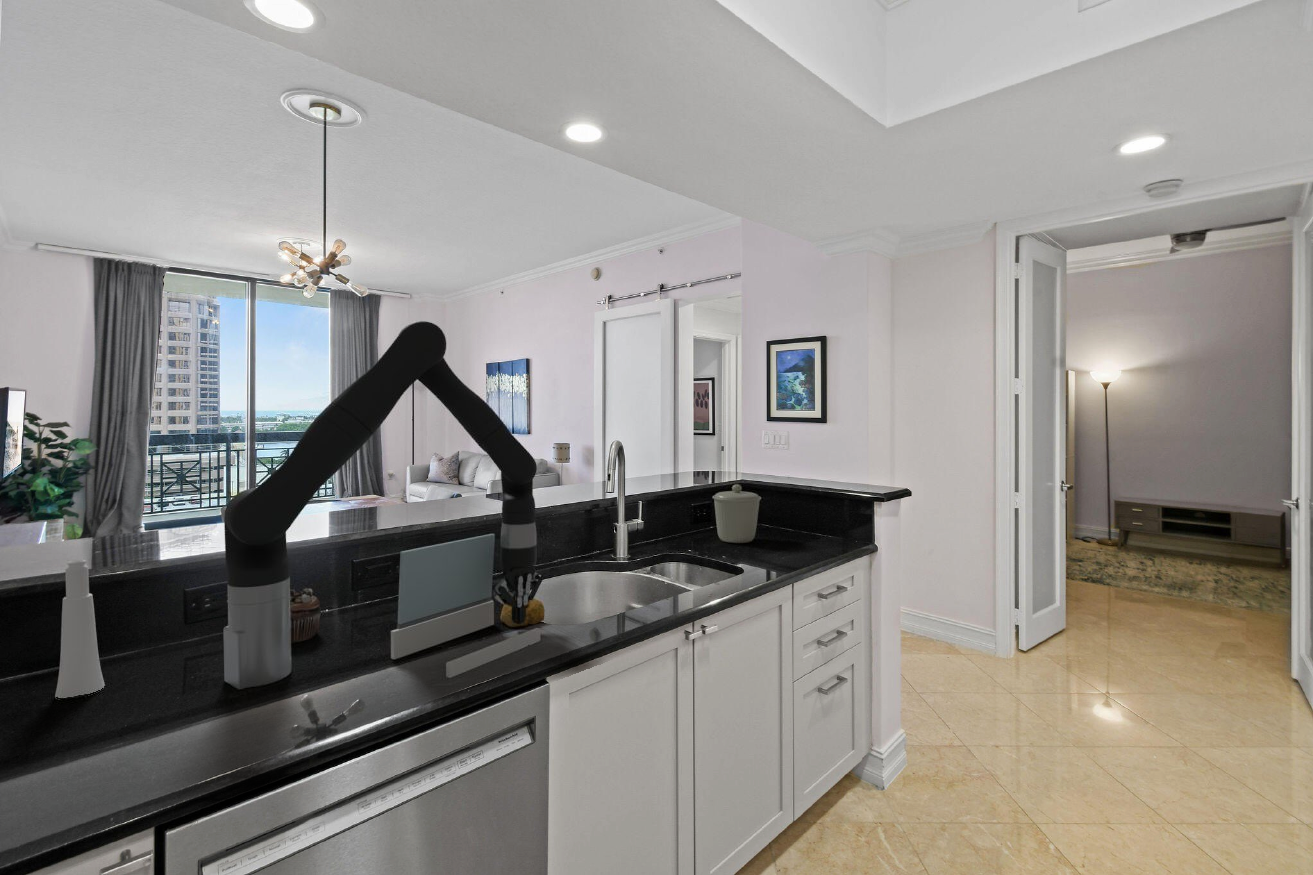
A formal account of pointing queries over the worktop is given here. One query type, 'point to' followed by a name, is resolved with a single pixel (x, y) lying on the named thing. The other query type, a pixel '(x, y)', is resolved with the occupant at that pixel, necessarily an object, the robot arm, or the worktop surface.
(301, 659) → the worktop surface
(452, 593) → the cover
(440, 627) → the white channel
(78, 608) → the cosmetic bottle
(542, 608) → the bagel
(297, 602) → the cupcake
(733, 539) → the canister
